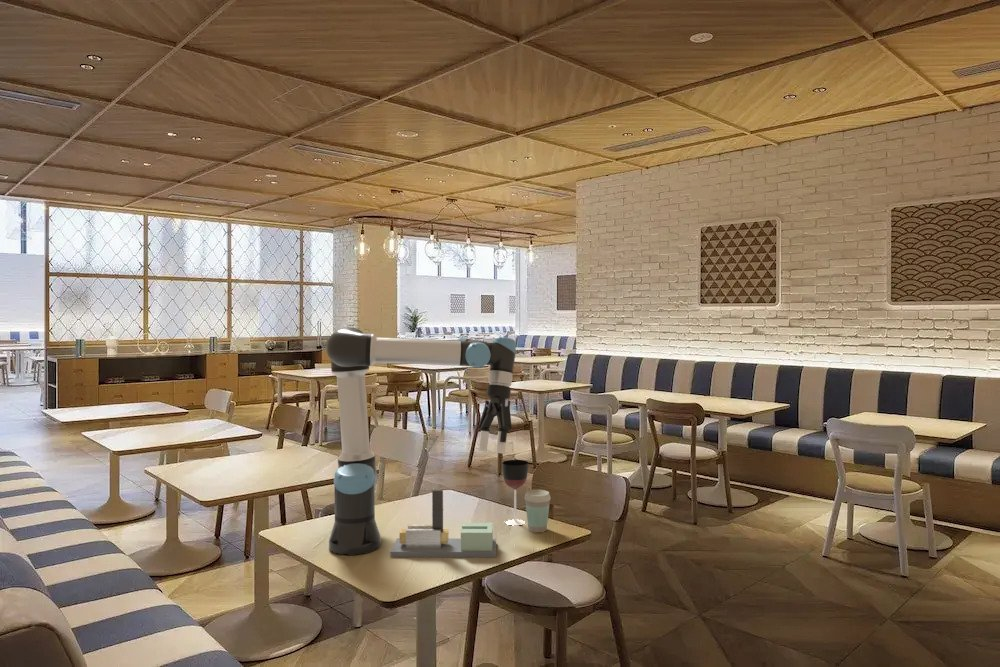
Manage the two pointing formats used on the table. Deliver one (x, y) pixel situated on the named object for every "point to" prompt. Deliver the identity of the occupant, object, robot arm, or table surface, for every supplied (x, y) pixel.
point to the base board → (439, 550)
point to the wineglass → (515, 481)
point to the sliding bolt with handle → (433, 518)
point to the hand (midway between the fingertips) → (490, 452)
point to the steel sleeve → (423, 537)
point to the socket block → (477, 537)
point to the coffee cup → (537, 509)
